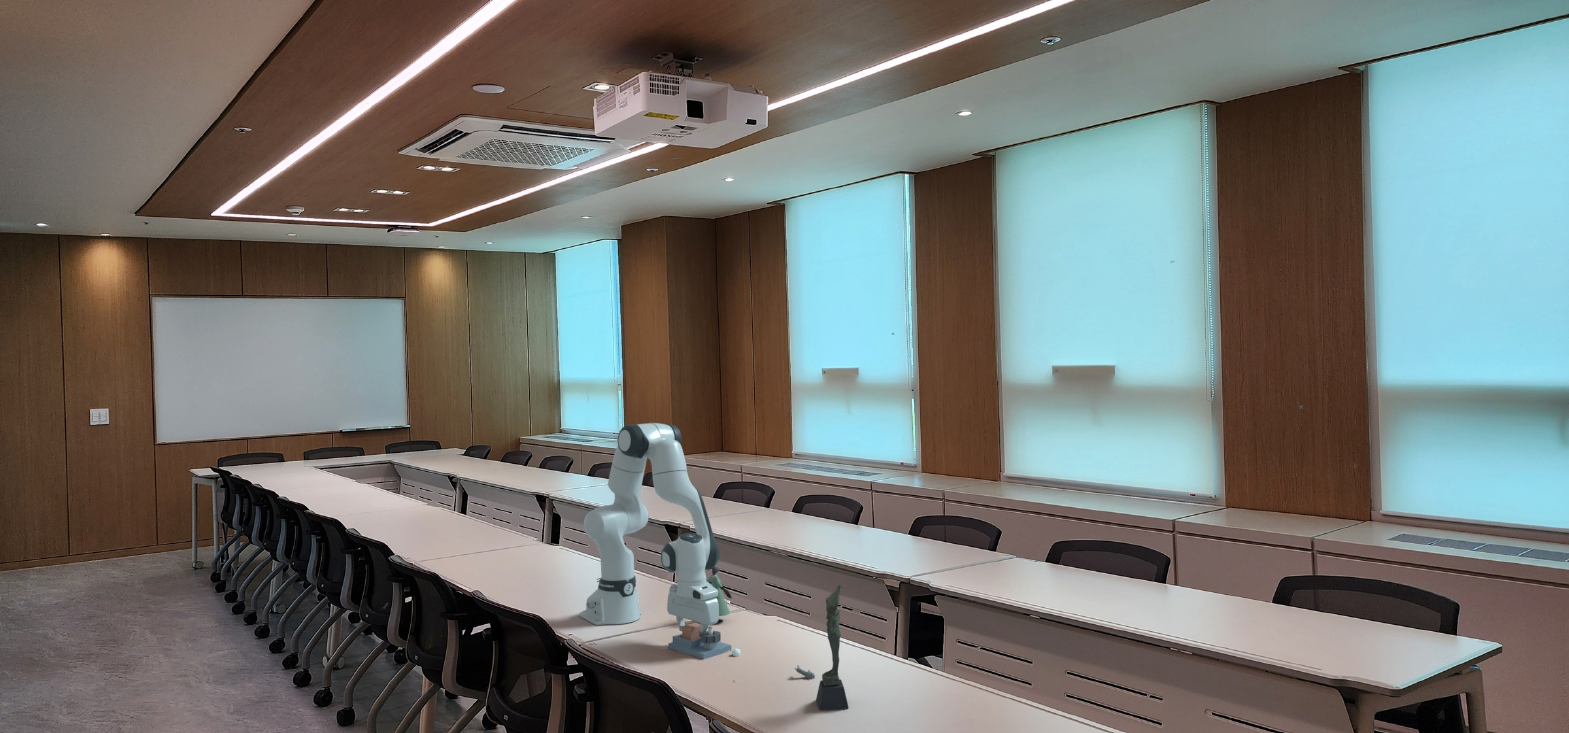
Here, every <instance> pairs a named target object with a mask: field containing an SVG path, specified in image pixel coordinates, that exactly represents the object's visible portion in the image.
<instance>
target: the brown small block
mask: <svg viewBox="0 0 1569 733" xmlns="http://www.w3.org/2000/svg"><path fill="white" fill-rule="evenodd" d="M701 628H702V626H701V623H699V622H692V623H688V624H685V626H682V631H681V634H682V638H685V639H688V640H694V639H698V638H701V637H699V631H701Z"/></svg>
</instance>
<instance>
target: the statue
mask: <svg viewBox="0 0 1569 733" xmlns="http://www.w3.org/2000/svg"><path fill="white" fill-rule="evenodd" d="M841 592H842V586H841V584H839V585H837V588H836V590H835V591H834V592H832V593H831V594H829V596H828V597H826V599H825V604H826V605H825V606H826V609H825V611H826V618H825V619H827V621H826V624H825V625H826V627H827V628H826V634H827V640H828V643H829V646H830V650H831V658H832V668H831V669H830V670H828V671H825V672H824V673H822V675H821V680H820V681H819V686H818V688H817V693H816V697H815V698H816V699H815V701H816V705H817V708H818V710H820V711H830V710H831V711H832V710H833V711H834V710H847V709H849V708H850V706H849V703H848V699H847V695H846V691H845V687H844V684H843V681H842V679H840V676H839V672H838V671H839V667H840V666H839V664H840V657H839V656H840V644H841V643H840V640H841V634H842V633H841V631H840V621H841V620H840V619H841V612H840V610H838V607H839V602H840V593H841Z"/></svg>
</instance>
